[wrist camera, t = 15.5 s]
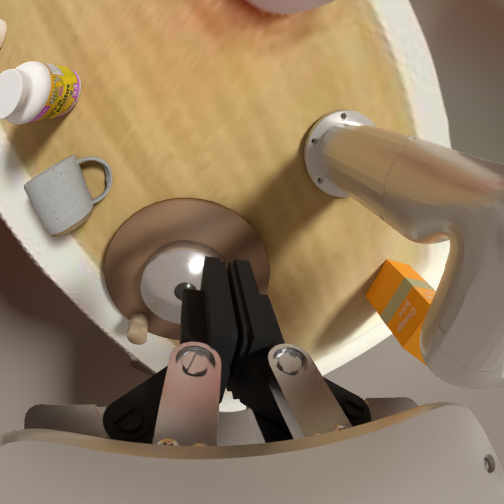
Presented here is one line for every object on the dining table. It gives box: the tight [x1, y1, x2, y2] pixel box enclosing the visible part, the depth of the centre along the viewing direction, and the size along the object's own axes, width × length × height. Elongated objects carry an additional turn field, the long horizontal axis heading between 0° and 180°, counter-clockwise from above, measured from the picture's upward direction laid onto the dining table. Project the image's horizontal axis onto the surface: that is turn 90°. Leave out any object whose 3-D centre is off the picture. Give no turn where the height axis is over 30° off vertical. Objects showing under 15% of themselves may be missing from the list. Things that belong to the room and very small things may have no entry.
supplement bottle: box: [0, 61, 81, 124], centre depth 18 cm, size 7×7×13 cm
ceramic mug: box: [24, 154, 112, 237], centre depth 27 cm, size 11×8×8 cm
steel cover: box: [141, 240, 227, 324], centre depth 36 cm, size 12×12×3 cm
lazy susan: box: [104, 198, 270, 345], centre depth 37 cm, size 24×24×6 cm
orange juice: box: [365, 259, 436, 365], centre depth 41 cm, size 8×9×20 cm
